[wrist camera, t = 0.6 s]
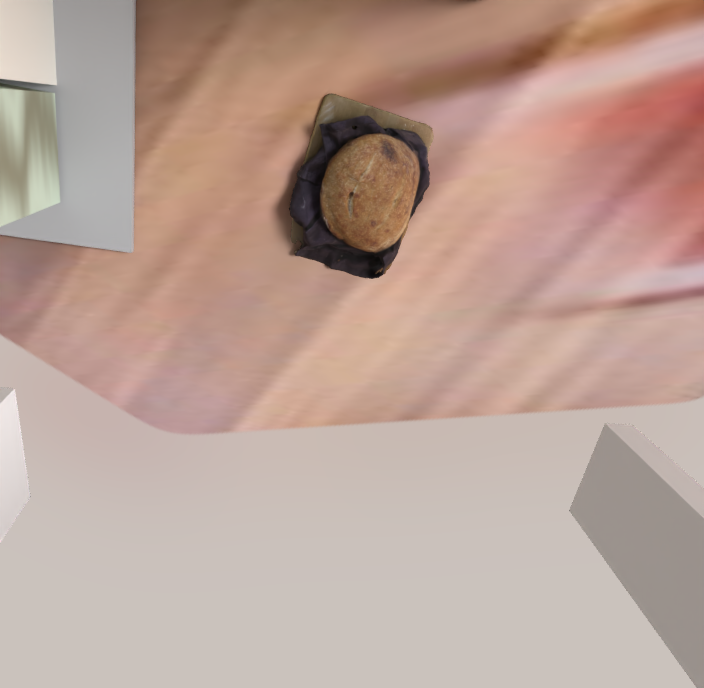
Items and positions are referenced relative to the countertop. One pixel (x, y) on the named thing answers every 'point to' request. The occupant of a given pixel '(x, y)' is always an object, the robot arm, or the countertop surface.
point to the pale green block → (27, 152)
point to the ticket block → (79, 112)
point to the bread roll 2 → (359, 186)
